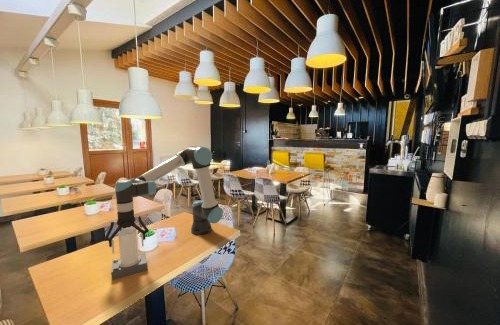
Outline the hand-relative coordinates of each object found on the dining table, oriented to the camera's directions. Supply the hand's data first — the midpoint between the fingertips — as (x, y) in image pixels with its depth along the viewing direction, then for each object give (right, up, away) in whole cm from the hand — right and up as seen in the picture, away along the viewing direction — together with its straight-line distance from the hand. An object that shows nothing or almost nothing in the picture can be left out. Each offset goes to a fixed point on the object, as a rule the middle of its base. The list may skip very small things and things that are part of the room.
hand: (128, 248), depth 115 cm
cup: (0, -7, +1) cm, 7 cm away
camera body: (0, -11, +1) cm, 11 cm away
